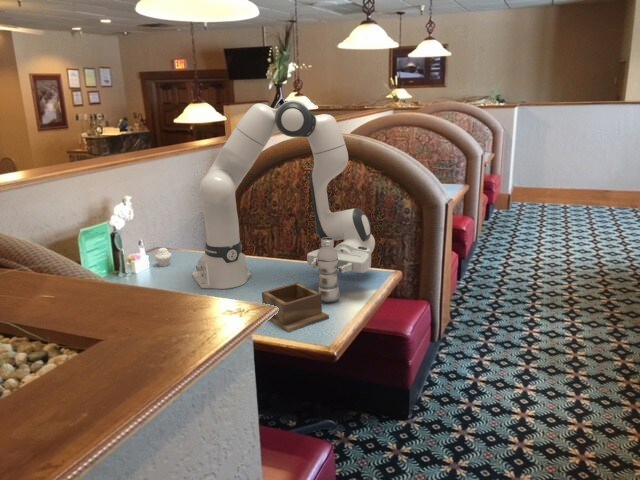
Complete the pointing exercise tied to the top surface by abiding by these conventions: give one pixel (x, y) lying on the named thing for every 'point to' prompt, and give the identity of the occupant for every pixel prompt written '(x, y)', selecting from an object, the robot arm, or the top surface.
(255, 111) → the robot arm
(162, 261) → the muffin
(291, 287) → the bottle caddy
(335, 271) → the plastic bottle
